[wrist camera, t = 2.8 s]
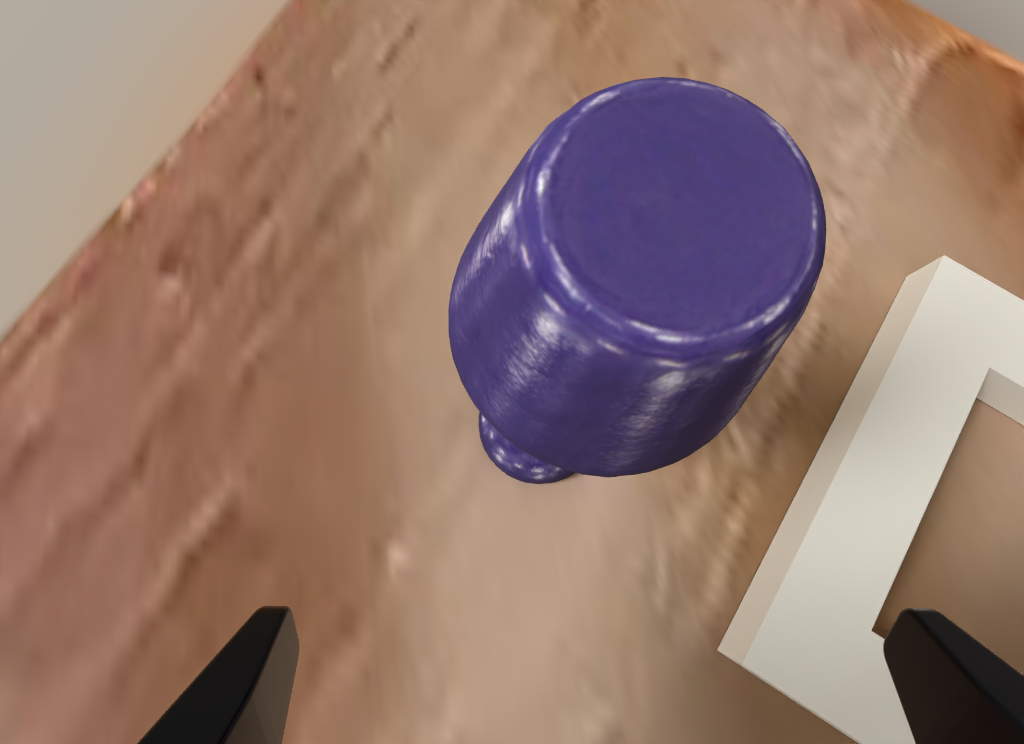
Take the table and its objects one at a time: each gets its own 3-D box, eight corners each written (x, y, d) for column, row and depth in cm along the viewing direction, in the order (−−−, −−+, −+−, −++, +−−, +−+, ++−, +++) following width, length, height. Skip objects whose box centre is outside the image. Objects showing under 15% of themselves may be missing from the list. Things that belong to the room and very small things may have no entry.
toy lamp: (607, 492, 21) (1001, 410, 5) (475, 508, 21) (452, 476, 5) (587, 360, 22) (860, -49, 6) (460, 374, 22) (403, -22, 6)
